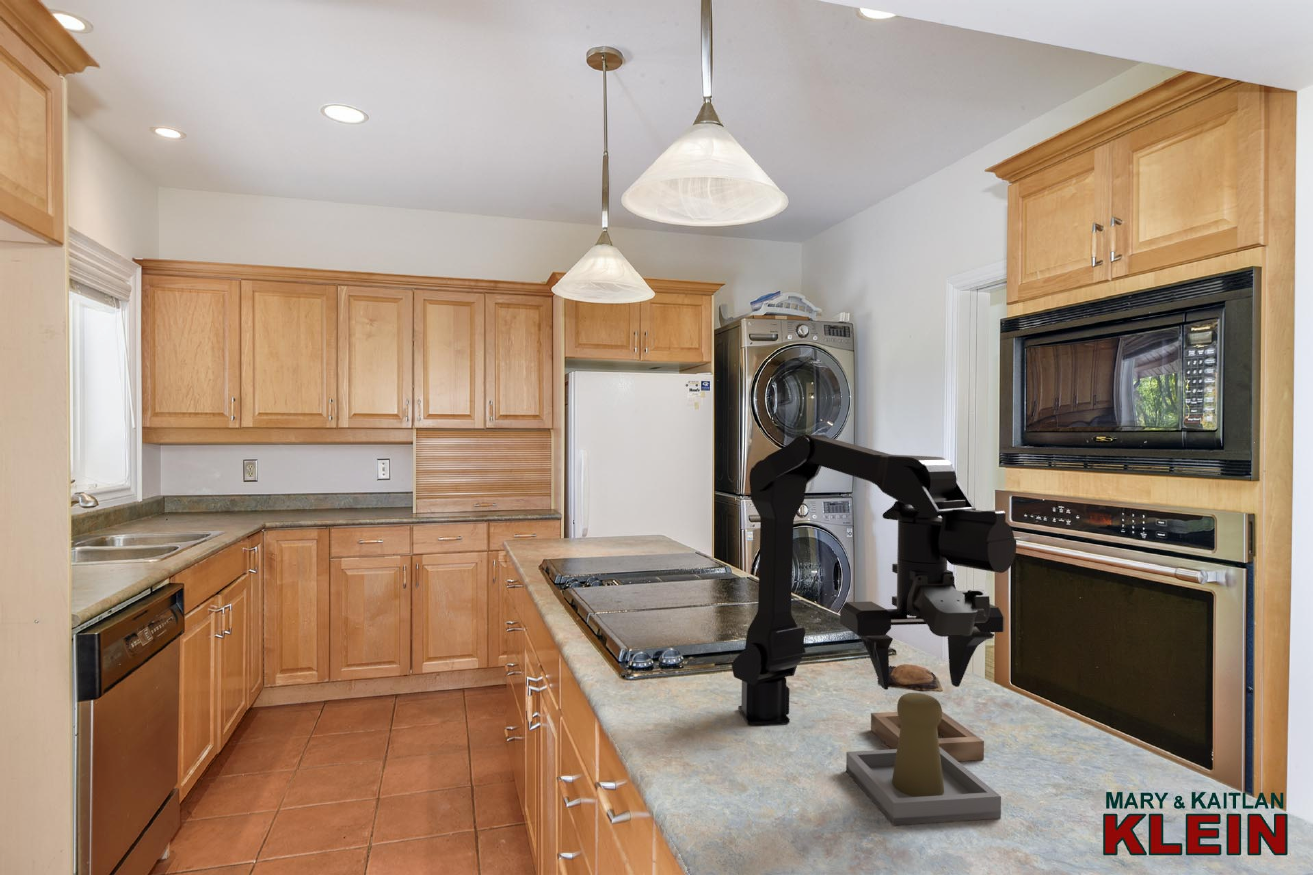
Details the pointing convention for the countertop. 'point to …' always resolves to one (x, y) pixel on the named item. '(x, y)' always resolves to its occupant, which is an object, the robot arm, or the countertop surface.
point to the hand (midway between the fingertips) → (920, 687)
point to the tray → (957, 803)
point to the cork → (918, 747)
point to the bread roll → (913, 678)
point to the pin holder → (954, 742)
